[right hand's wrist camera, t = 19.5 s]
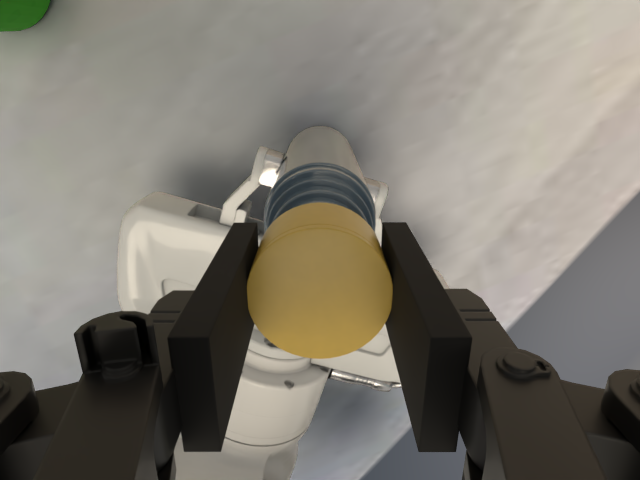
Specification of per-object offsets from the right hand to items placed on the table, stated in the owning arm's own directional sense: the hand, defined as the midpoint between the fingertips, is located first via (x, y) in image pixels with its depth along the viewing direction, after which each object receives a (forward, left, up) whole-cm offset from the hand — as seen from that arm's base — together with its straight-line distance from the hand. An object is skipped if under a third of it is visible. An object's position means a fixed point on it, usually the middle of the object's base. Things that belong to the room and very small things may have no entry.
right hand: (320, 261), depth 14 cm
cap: (0, 0, +2) cm, 2 cm away
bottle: (0, 0, -18) cm, 18 cm away
